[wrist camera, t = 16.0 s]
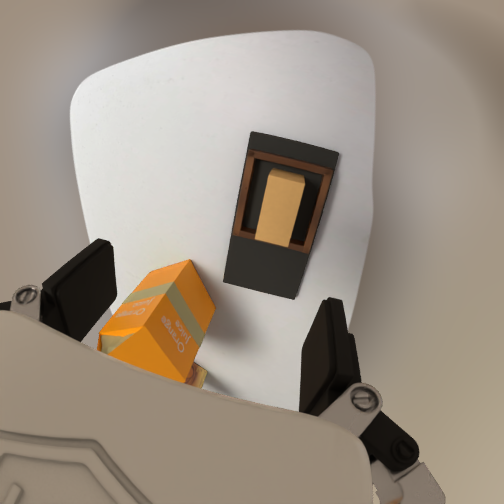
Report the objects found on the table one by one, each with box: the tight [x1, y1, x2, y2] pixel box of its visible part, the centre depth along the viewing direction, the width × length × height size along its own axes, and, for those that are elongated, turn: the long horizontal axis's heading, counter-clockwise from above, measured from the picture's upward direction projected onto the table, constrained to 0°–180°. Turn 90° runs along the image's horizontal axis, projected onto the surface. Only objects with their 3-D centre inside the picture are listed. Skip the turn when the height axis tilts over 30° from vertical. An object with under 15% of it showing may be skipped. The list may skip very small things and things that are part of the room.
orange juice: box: [97, 259, 216, 383], centre depth 32 cm, size 8×9×20 cm
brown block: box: [255, 168, 305, 247], centre depth 30 cm, size 4×7×4 cm, turn 169°
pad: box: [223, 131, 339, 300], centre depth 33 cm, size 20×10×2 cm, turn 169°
